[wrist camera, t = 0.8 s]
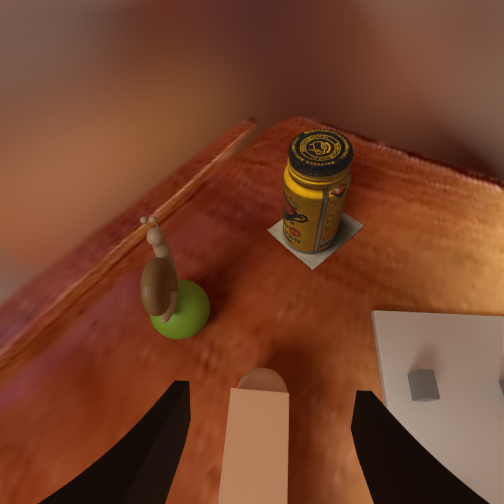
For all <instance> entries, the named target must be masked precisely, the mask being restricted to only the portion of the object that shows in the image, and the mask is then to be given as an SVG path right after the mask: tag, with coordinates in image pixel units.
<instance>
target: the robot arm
mask: <svg viewBox="0 0 504 504" xmlns="http://www.w3.org/2000/svg"><path fill="white" fill-rule="evenodd" d="M190 420H191V415H190V389H189V381H177V380H175V381H174V382H173V383H172V384H171V385H170V387H169V388H168V389H167V390H166V392H165V393H164V394H163V395H162V396H161V397H160V399H159V400H158V401H157V402H156V403H155V404H154V406H153V407H152V408H151V409H150V410H149V411H148V412H147V413H146V414H145V415H144V417H143V418H142V419H141V420H140V421H139V422H138V423H137V424H136V425H135V426H134V427H133V428H132V429H131V430H130V431H129V432H128V433H127V434H126V435H125V436H124V437H123V438H122V439H121V440H120V441H119V442H118V443H117V444H115V445H114V446H113V447H112V448H111V449H110V450H109V451H108V452H106V453H105V454H104V455H103V456H102V457H101V458H100V459H98V460H97V461H96V462H95V463H93V464H92V465H91V466H90V467H88V468H87V469H86V470H85V471H83V472H82V473H81V474H80V475H78V476H77V477H76V478H74V479H73V480H72V481H70V482H69V483H68V484H66V485H65V486H63V487H62V488H60V489H59V490H58V491H56V492H55V493H53V494H52V495H50V496H49V497H47V498H46V499H44V500H43V501H41V502H40V503H38V504H165V502H166V499H167V496H168V493H169V490H170V487H171V484H172V481H173V478H174V475H175V472H176V470H177V467H178V464H179V461H180V458H181V455H182V452H183V449H184V446H185V442H186V438H187V433H188V429H189V424H190ZM351 432H352V436H353V440H354V445H355V449H356V453H357V456H358V459H359V462H360V465H361V468H362V471H363V474H364V477H365V480H366V482H367V485H368V488H369V491H370V494H371V497H372V499H373V502H374V504H490V503H489V502H487V501H486V500H485V499H483V498H482V497H481V496H479V495H478V494H477V493H476V492H474V491H473V490H472V489H471V488H469V487H468V486H467V485H466V484H464V483H463V482H462V481H461V480H460V479H459V478H457V477H456V476H455V475H454V474H453V473H452V472H450V471H449V470H448V469H447V468H446V467H445V466H444V465H442V464H441V463H440V462H439V461H438V460H437V459H436V458H435V457H434V456H433V455H432V454H431V453H430V452H429V451H427V450H426V449H425V448H424V447H423V446H422V445H421V444H420V443H419V442H418V441H417V440H416V439H415V438H414V437H413V436H412V435H411V434H410V433H409V432H408V431H407V430H406V428H405V427H404V426H403V425H402V424H401V423H400V422H399V421H398V420H397V419H396V418H395V417H394V416H393V414H392V413H391V412H390V411H389V410H388V409H387V408H386V407H385V406H384V405H383V403H382V402H381V401H380V400H379V399H378V398H377V397H376V396H375V395H374V393H373V392H372V391H360V390H357V392H356V399H355V405H354V411H353V418H352V424H351Z"/></svg>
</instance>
